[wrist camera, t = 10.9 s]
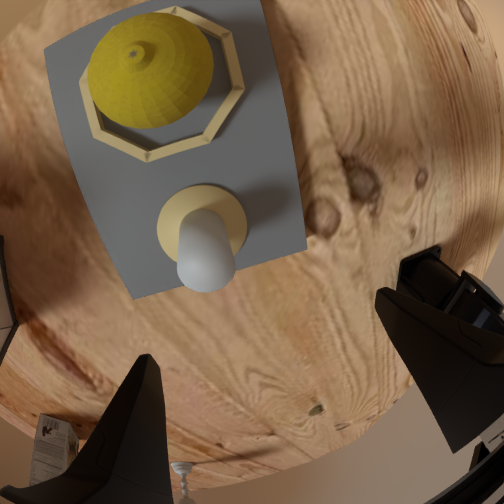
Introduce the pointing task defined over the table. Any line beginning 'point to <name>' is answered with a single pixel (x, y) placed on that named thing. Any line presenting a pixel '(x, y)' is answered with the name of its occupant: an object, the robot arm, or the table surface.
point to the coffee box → (52, 449)
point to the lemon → (150, 70)
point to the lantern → (5, 308)
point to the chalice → (183, 479)
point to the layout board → (187, 158)
